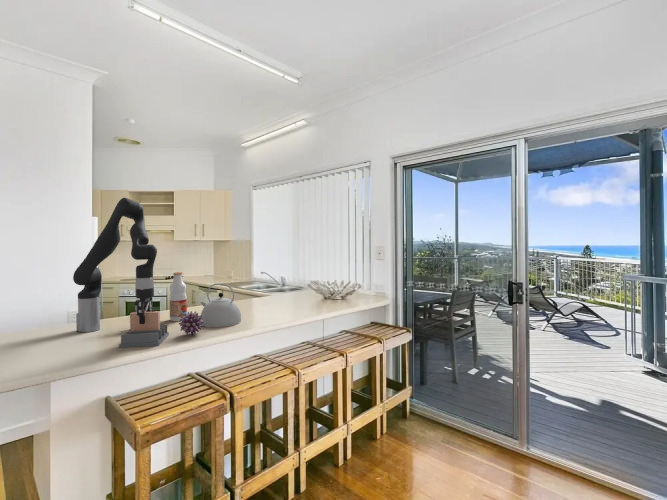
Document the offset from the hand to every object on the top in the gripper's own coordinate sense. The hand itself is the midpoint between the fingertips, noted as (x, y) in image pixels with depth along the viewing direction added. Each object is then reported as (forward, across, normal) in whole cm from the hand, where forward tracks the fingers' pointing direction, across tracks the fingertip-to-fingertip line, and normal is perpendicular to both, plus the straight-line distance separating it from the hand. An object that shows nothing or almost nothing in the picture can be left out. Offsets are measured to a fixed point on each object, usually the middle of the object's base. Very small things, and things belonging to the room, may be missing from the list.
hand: (145, 321), depth 159 cm
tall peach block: (+8, 0, 0) cm, 8 cm away
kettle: (+10, -32, +30) cm, 44 cm away
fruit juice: (+9, -43, +5) cm, 44 cm away
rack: (+9, 0, 0) cm, 9 cm away
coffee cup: (+9, -27, -9) cm, 30 cm away
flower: (+9, -7, +19) cm, 22 cm away
